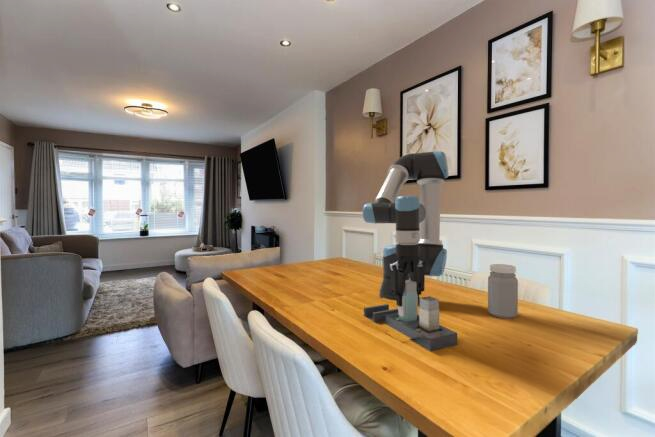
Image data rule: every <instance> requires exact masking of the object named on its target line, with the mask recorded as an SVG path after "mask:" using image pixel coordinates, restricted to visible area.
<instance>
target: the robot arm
mask: <svg viewBox="0 0 655 437" xmlns="http://www.w3.org/2000/svg"><path fill="white" fill-rule="evenodd" d="M448 177H449V166H448V160H447V156H446V153H445V152H444V151H443V150H442V151H426V152H415V153H408V154H404V155H402V156H400V157H399V158H398V159H396V160H394V161H393V162H392V163H391V165H390V166H389V167H388V169H387V172H386V178H385V180H384V182H383V184H382V185H381V187H380V190H379V191H378V194H377V195H376V197H375V199H374V201H373V202H367V203H365V204H364V205H363V207H362V217H363V220H364V222H365V223H367V224H395V242H396V244H391V245H386V246H384V248H383V252H382V253H383V254H382V272H383V274H382V281H381V285H380V287H379V295H378V296H379V297H380V298H381V299H387V300H390V301H391V300H393V301H396V306H397V309H398V315H400V316H402V317H405V296H403V293H404V287H405V281H406V280H411V281H414V282H416V291H417V315H419V313H418V312H419V310H418V308H419V307H418V306H419V305H418V304H420V295H422V293H423V292H425V276H428V277H441V276H443V274H444V272H445V268H446V264H447V256H448V251H447V248H446V249H445V248H444V244H443V243H442V241H441V240H440V237H441V236H440V235H441V234H440V233H441V232H440V228H441V224H440V223H441V194H442V193H441V192H442V191H441V187H442V185H443V184H445V180H446V179H447V178H448ZM409 180H416V183H417V184H418V185H419V187H420V188H419V196H418V195H400V196H399V194H400V192H401V190H402V188H403V186H404V184H406V182H407V181H409Z"/></svg>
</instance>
